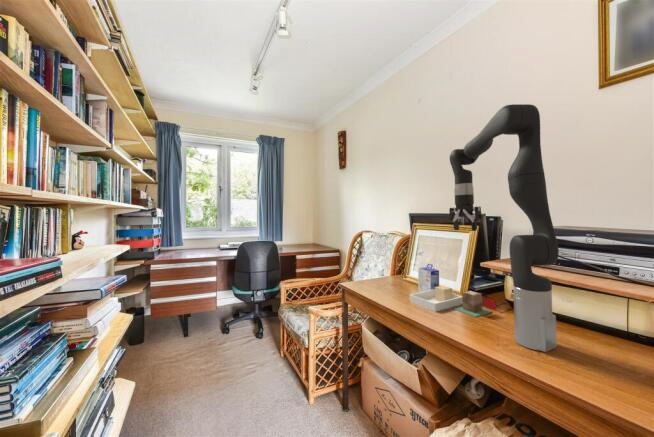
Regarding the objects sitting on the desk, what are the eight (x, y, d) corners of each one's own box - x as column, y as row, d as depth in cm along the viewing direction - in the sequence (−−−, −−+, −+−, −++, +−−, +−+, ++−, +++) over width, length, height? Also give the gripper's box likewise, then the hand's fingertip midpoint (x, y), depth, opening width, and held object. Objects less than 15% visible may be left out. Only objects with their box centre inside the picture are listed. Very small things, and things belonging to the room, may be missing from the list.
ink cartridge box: (440, 294, 129) (439, 265, 129) (431, 296, 127) (430, 266, 127) (426, 289, 138) (425, 262, 138) (418, 291, 137) (417, 263, 136)
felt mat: (492, 312, 105) (492, 311, 105) (475, 317, 101) (475, 316, 100) (469, 305, 114) (469, 303, 114) (453, 309, 110) (452, 308, 110)
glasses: (463, 303, 118) (463, 292, 117) (485, 296, 125) (485, 286, 125) (495, 313, 105) (495, 300, 105) (518, 304, 113) (517, 293, 113)
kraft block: (452, 301, 119) (451, 288, 118) (444, 303, 116) (443, 289, 116) (443, 298, 123) (442, 285, 123) (435, 300, 121) (434, 287, 121)
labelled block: (482, 310, 106) (481, 293, 106) (474, 312, 104) (473, 295, 104) (470, 306, 110) (470, 290, 110) (462, 309, 108) (462, 292, 108)
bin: (462, 304, 115) (462, 296, 115) (435, 312, 108) (434, 303, 107) (436, 295, 128) (435, 288, 128) (409, 302, 121) (409, 294, 121)
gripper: (484, 192, 112) (486, 230, 112) (455, 195, 125) (456, 229, 125) (473, 192, 109) (474, 231, 109) (444, 195, 122) (445, 230, 122)
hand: (465, 230), depth 117 cm, fingers open, 8 cm apart
